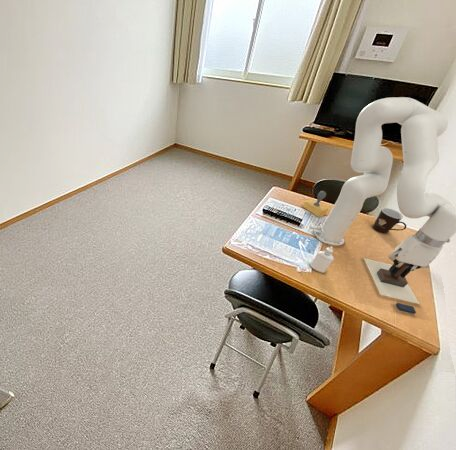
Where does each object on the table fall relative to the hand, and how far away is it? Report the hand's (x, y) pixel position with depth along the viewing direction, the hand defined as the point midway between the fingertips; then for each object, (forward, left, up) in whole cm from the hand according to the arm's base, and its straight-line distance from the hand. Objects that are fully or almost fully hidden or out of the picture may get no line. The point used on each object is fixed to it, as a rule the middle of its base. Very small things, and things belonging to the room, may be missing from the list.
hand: (396, 273), depth 104 cm
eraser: (0, -14, -5) cm, 15 cm away
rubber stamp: (-21, +44, -5) cm, 49 cm away
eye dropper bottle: (-27, -2, -5) cm, 27 cm away
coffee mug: (+10, +38, -5) cm, 39 cm away
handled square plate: (0, 0, -4) cm, 4 cm away
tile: (0, +1, -5) cm, 5 cm away
